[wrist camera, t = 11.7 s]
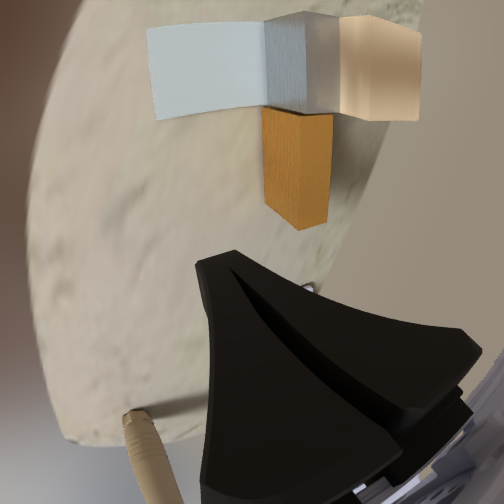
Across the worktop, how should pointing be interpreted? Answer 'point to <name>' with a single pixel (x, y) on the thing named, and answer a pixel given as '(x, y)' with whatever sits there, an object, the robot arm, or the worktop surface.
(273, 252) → the worktop surface
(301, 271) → the worktop surface
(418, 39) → the block
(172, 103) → the vise
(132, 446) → the handle
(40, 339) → the worktop surface
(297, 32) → the free jaw
